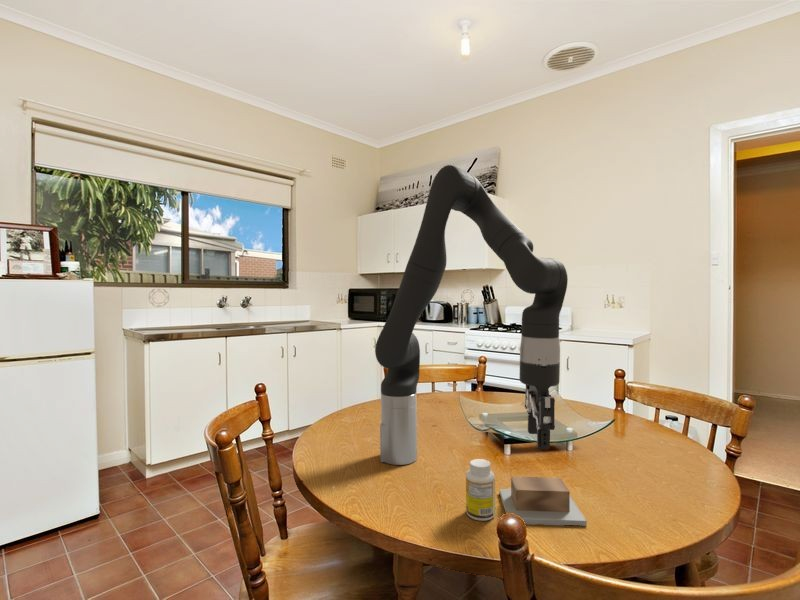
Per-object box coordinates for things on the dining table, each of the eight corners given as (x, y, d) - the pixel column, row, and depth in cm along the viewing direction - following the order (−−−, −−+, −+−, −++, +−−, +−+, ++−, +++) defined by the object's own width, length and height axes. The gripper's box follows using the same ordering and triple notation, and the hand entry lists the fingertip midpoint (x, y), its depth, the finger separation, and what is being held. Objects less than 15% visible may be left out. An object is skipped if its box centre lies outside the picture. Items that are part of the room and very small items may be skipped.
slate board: (509, 523, 81) (509, 518, 81) (499, 493, 93) (499, 488, 93) (586, 526, 80) (586, 520, 80) (566, 495, 92) (566, 490, 92)
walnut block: (516, 510, 84) (516, 489, 84) (511, 495, 90) (511, 476, 90) (569, 512, 83) (569, 491, 83) (560, 497, 89) (560, 477, 89)
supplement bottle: (475, 504, 88) (475, 454, 88) (500, 513, 85) (500, 461, 84) (460, 515, 84) (460, 463, 84) (486, 525, 80) (485, 471, 80)
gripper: (513, 353, 93) (512, 428, 93) (527, 365, 79) (526, 454, 79) (549, 354, 92) (548, 429, 93) (570, 366, 78) (568, 455, 78)
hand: (538, 440), depth 86 cm, fingers open, 8 cm apart
